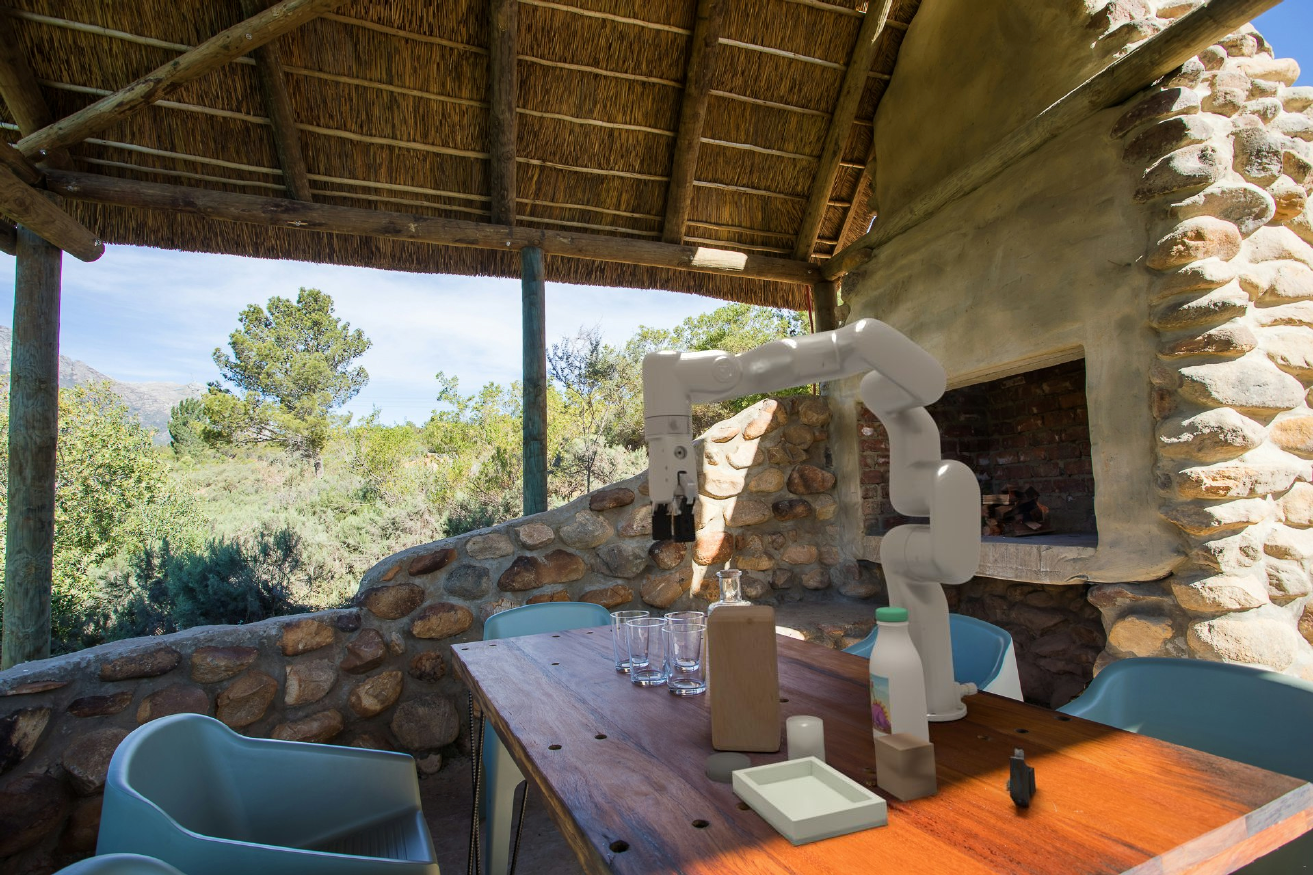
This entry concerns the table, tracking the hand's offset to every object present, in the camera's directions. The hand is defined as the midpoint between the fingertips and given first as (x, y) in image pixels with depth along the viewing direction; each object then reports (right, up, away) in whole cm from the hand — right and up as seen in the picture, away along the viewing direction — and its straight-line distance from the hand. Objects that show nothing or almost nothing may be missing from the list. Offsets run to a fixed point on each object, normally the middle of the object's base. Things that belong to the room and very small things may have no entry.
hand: (673, 541), depth 103 cm
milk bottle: (+34, -30, -5) cm, 45 cm away
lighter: (+41, -28, -23) cm, 55 cm away
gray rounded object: (+7, -30, -12) cm, 33 cm away
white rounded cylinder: (+18, -30, -10) cm, 36 cm away
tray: (+15, -29, -22) cm, 39 cm away
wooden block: (+12, -31, 0) cm, 33 cm away
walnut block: (+29, -28, -19) cm, 45 cm away
